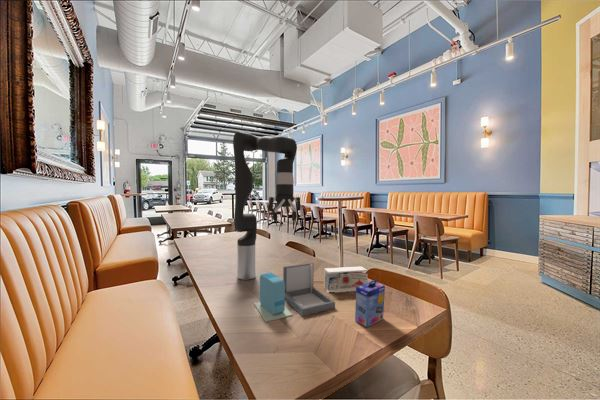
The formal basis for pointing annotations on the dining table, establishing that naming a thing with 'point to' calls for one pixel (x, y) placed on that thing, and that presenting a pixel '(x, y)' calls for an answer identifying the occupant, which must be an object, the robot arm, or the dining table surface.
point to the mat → (268, 316)
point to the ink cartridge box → (369, 303)
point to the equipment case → (304, 290)
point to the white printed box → (344, 278)
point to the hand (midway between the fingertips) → (284, 220)
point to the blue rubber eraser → (272, 293)
